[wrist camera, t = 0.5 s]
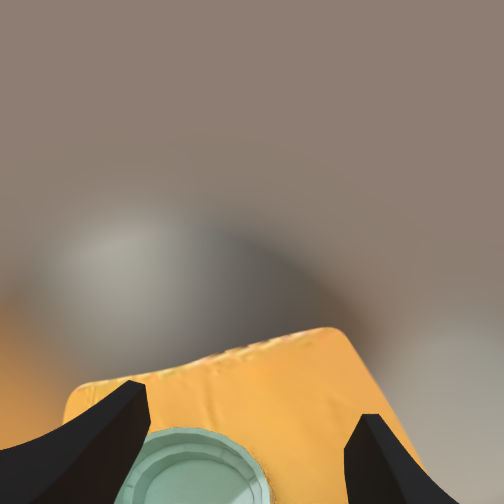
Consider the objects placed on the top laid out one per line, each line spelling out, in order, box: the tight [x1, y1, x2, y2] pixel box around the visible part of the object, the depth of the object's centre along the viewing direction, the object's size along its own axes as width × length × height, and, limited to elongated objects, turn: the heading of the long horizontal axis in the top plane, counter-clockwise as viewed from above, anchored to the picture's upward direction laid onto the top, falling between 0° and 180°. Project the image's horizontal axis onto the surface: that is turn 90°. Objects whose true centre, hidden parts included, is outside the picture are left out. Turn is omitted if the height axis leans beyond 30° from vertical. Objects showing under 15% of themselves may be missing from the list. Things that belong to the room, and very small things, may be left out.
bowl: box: [114, 427, 275, 504], centre depth 17 cm, size 13×13×5 cm
